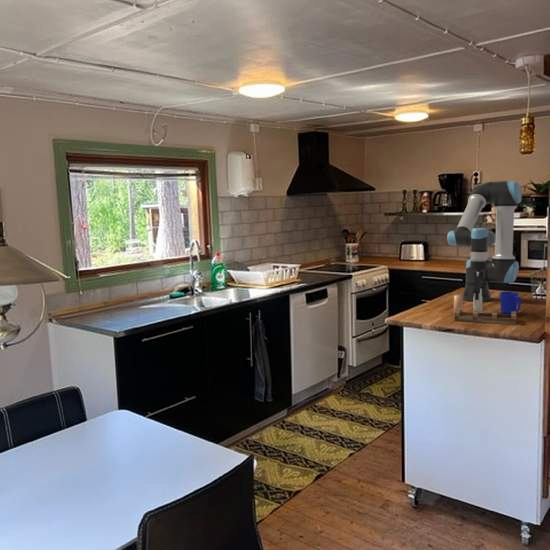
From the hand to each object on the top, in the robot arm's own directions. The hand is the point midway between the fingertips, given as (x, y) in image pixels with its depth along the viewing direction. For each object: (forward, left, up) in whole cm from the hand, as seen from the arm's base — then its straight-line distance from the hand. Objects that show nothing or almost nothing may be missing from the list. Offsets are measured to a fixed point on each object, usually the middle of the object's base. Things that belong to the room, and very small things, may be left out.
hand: (477, 304), depth 262 cm
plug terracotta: (0, -9, -5) cm, 10 cm away
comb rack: (+12, +4, -5) cm, 14 cm away
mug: (-7, +15, -6) cm, 18 cm away
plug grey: (0, 0, -5) cm, 5 cm away
